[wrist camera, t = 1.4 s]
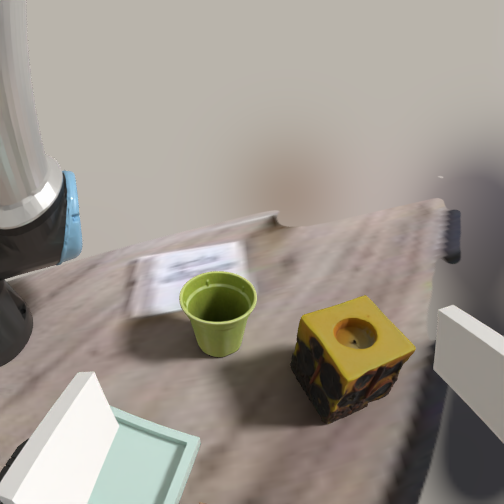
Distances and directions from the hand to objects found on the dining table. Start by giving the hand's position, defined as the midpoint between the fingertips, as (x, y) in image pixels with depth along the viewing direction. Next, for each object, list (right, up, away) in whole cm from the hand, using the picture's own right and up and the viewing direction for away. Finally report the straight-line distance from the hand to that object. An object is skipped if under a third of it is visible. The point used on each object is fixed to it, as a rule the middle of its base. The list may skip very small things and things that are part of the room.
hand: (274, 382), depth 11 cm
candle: (+11, -13, +28) cm, 33 cm away
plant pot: (-5, -8, +33) cm, 34 cm away
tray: (-14, -19, +16) cm, 29 cm away
